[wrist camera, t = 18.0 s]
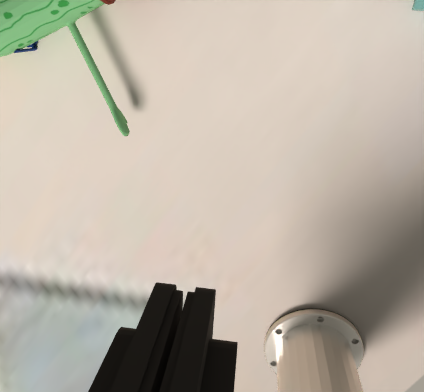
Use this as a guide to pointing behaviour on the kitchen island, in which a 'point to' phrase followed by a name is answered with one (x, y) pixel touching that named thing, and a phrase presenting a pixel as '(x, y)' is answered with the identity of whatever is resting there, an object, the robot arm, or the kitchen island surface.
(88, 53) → the toy
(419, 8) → the domino
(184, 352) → the robot arm
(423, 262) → the kitchen island surface
